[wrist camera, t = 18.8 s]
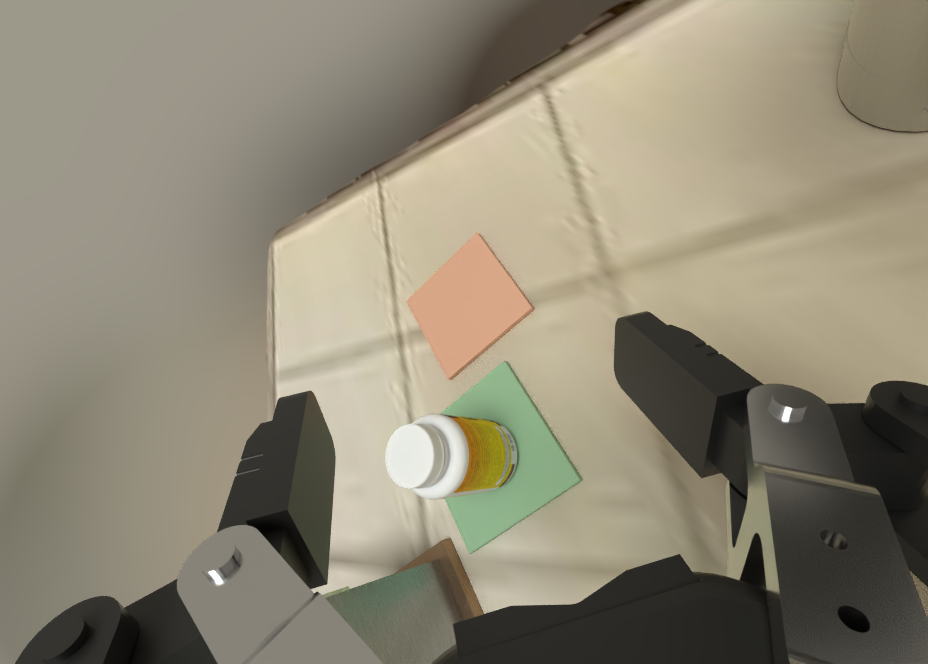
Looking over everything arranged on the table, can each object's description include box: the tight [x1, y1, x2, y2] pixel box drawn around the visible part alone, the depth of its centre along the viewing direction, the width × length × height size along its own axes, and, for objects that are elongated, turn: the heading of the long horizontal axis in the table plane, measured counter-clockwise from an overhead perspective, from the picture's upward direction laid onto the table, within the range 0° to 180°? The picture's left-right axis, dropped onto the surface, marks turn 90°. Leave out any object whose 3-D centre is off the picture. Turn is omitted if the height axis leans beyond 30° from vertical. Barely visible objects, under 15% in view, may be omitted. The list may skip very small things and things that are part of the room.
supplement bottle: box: [385, 414, 517, 499], centre depth 31 cm, size 6×6×10 cm
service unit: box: [322, 538, 483, 664], centre depth 29 cm, size 9×8×15 cm
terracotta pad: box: [406, 233, 534, 380], centre depth 40 cm, size 10×10×1 cm
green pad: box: [441, 361, 582, 553], centre depth 36 cm, size 11×11×1 cm
